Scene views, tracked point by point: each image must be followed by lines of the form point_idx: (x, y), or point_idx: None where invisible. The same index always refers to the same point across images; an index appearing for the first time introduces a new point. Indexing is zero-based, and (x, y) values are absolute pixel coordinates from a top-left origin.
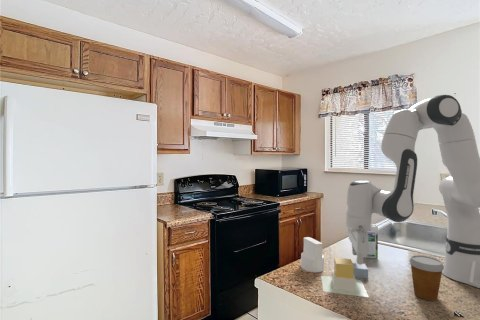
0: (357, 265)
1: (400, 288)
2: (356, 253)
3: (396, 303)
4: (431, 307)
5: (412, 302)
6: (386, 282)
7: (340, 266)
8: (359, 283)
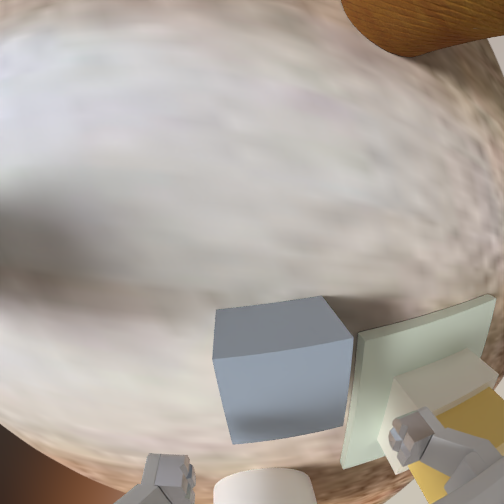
0: (282, 407)
1: (358, 102)
2: (186, 471)
3: (494, 187)
4: (471, 56)
5: (471, 111)
6: (297, 170)
7: None
8: (403, 345)
